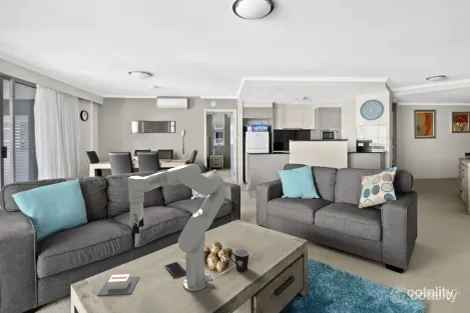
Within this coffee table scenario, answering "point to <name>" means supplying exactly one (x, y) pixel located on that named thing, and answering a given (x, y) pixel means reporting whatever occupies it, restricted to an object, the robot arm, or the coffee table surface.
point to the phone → (175, 270)
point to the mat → (127, 290)
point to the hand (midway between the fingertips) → (138, 229)
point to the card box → (119, 281)
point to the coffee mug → (241, 259)
